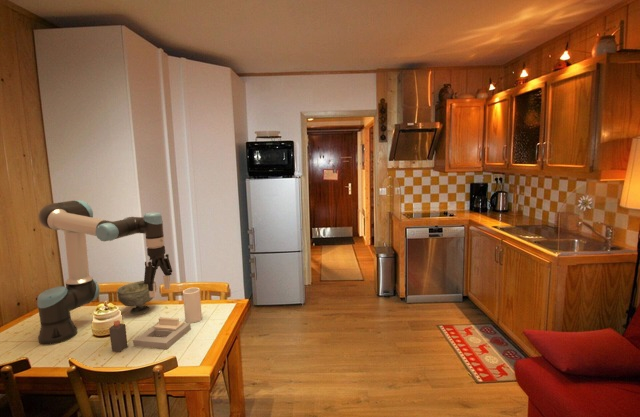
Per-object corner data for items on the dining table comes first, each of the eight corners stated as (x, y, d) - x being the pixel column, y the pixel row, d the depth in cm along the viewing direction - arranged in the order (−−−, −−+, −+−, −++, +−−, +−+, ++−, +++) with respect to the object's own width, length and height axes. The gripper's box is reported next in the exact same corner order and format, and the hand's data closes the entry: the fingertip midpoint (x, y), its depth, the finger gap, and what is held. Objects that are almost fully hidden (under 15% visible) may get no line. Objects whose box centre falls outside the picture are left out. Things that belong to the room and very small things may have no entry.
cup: (196, 323, 181) (194, 293, 178) (182, 322, 182) (179, 292, 180) (204, 316, 189) (202, 287, 186) (191, 315, 190) (188, 287, 188)
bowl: (134, 303, 209) (131, 279, 207) (165, 304, 206) (162, 279, 204) (110, 318, 190) (107, 291, 188) (143, 319, 187) (140, 292, 185)
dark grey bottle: (111, 351, 156) (108, 323, 155) (119, 346, 161) (116, 319, 159) (120, 352, 156) (117, 324, 154) (127, 346, 160) (124, 319, 158)
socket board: (133, 346, 160) (132, 340, 160) (160, 326, 178) (159, 321, 178) (166, 349, 157) (166, 343, 156) (190, 329, 175) (190, 323, 174)
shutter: (153, 328, 169) (152, 321, 169) (163, 321, 177) (162, 314, 176) (175, 330, 167) (174, 322, 166) (184, 323, 174) (183, 315, 174)
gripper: (146, 253, 151) (151, 302, 154) (177, 240, 172) (181, 284, 176) (131, 252, 152) (136, 301, 155) (164, 240, 174) (168, 284, 177)
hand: (160, 292), depth 165 cm, fingers open, 10 cm apart
